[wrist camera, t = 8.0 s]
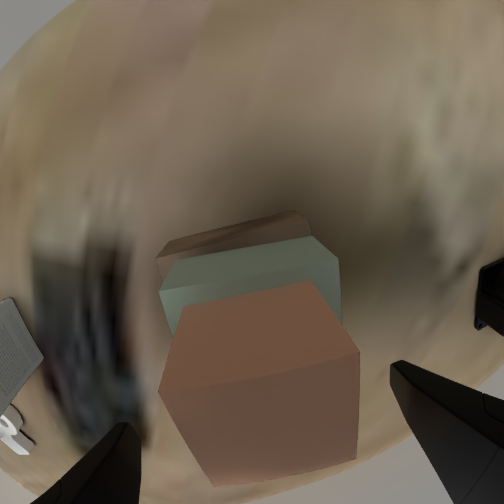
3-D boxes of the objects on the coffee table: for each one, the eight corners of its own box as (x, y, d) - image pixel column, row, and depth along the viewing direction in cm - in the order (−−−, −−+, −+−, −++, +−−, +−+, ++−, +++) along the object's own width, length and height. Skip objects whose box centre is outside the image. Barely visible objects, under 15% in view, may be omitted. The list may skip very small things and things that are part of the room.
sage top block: (312, 235, 15) (338, 259, 11) (322, 349, 17) (342, 391, 13) (175, 259, 15) (158, 290, 11) (206, 369, 17) (202, 416, 13)
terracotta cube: (310, 279, 11) (359, 351, 7) (322, 376, 13) (356, 458, 8) (183, 306, 11) (157, 391, 7) (216, 398, 13) (213, 486, 8)
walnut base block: (293, 209, 19) (308, 220, 15) (313, 319, 21) (329, 350, 17) (170, 240, 19) (155, 258, 15) (205, 345, 21) (201, 379, 17)
